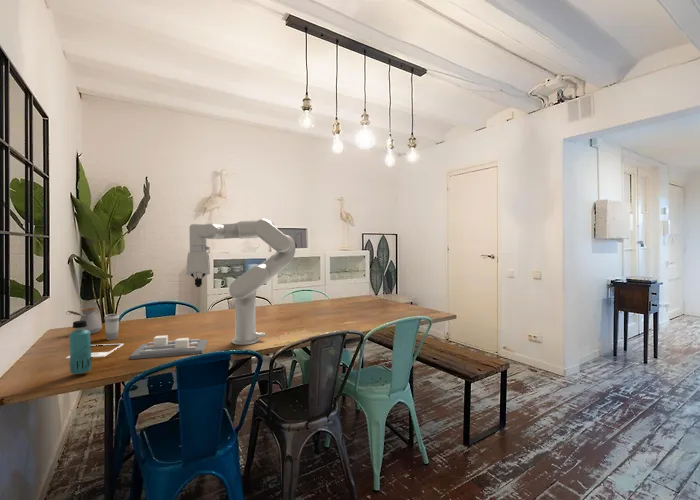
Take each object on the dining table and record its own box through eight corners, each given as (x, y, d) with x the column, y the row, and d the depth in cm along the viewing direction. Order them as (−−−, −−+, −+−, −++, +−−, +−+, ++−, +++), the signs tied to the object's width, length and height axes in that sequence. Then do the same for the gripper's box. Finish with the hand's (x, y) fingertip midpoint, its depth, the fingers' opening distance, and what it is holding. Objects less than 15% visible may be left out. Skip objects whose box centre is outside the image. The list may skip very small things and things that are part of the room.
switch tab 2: (189, 346, 158) (188, 337, 158) (187, 349, 155) (187, 340, 154) (177, 347, 157) (176, 338, 157) (175, 350, 153) (175, 340, 153)
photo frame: (65, 357, 146) (89, 344, 164) (65, 359, 146) (89, 346, 164) (104, 355, 149) (123, 343, 167) (104, 357, 149) (123, 345, 167)
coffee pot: (85, 330, 192) (84, 303, 192) (107, 330, 193) (106, 303, 193) (55, 341, 171) (55, 311, 171) (80, 341, 172) (79, 310, 172)
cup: (120, 339, 175) (119, 315, 175) (103, 341, 172) (103, 317, 171) (119, 336, 181) (119, 313, 181) (104, 338, 177) (103, 314, 177)
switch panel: (207, 342, 170) (207, 337, 170) (202, 353, 154) (202, 347, 153) (142, 347, 162) (142, 341, 162) (130, 359, 146) (130, 353, 146)
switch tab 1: (168, 343, 162) (167, 335, 162) (166, 346, 159) (165, 337, 158) (156, 344, 161) (156, 336, 161) (153, 347, 157) (153, 338, 157)
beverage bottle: (74, 379, 125) (73, 323, 124) (66, 375, 128) (65, 321, 128) (95, 373, 130) (94, 320, 130) (87, 370, 134) (86, 318, 133)
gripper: (215, 249, 176) (215, 285, 177) (182, 249, 172) (183, 286, 173) (213, 249, 169) (214, 287, 169) (179, 249, 165) (180, 288, 165)
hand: (198, 286), depth 171 cm, fingers closed
